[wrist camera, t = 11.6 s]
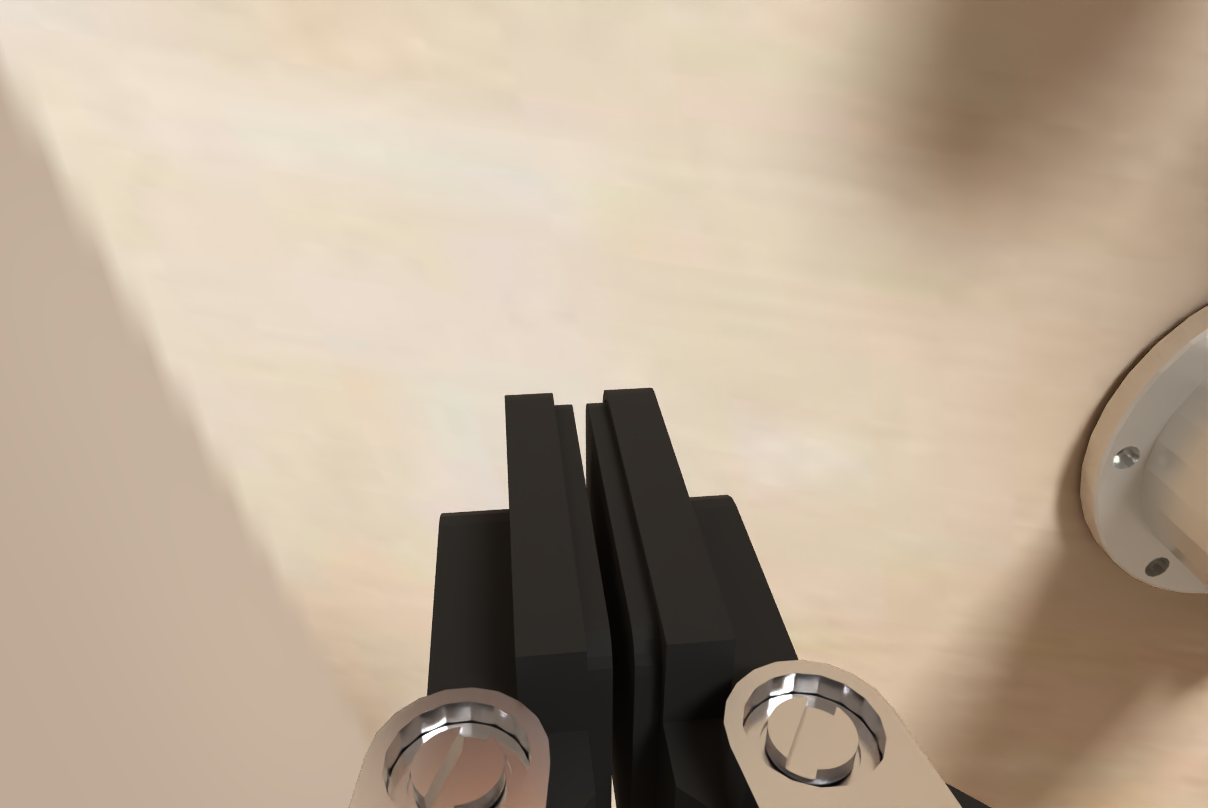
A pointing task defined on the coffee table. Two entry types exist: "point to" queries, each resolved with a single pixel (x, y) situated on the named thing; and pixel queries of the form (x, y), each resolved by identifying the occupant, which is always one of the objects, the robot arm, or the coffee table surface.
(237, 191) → the coffee table surface
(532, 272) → the coffee table surface
